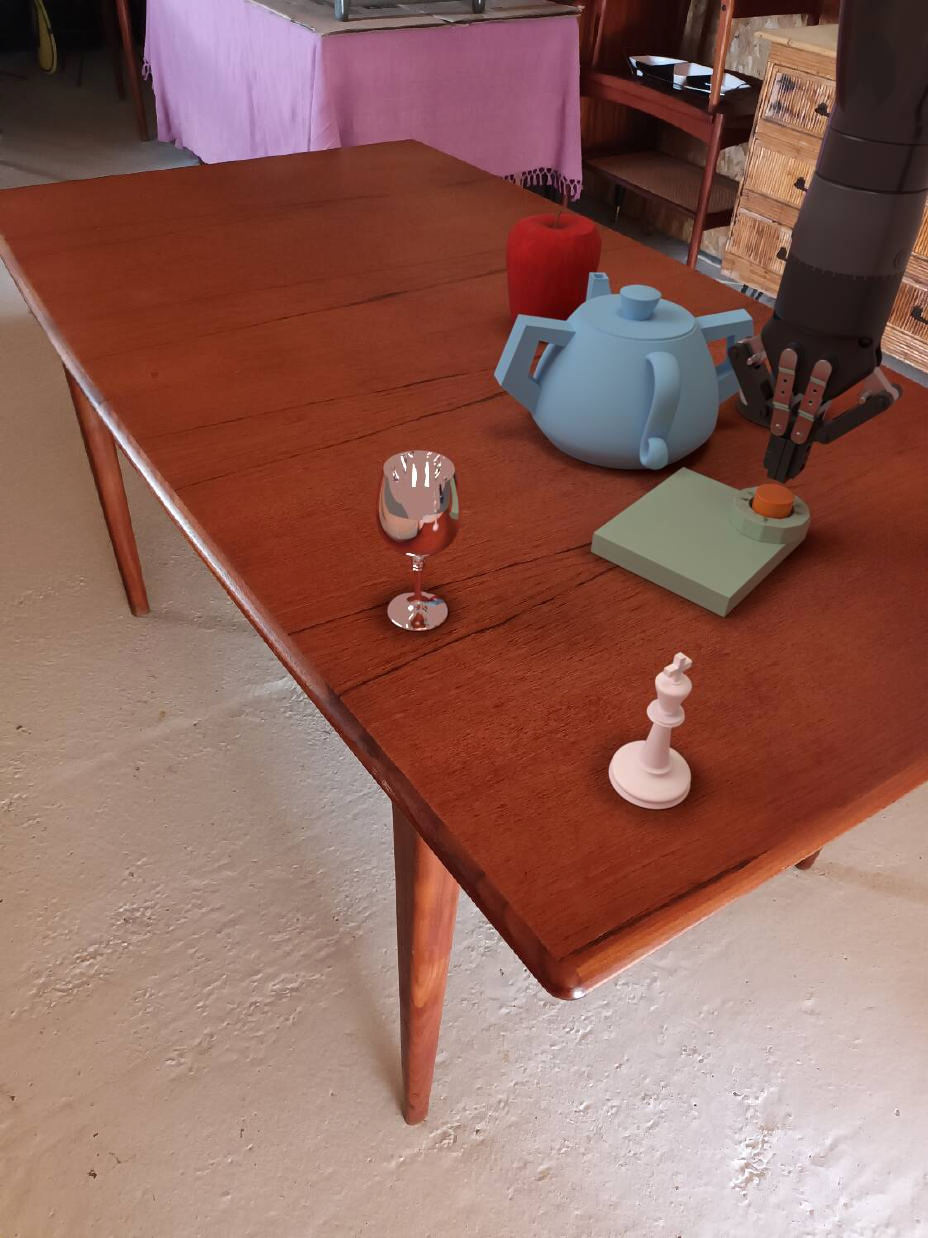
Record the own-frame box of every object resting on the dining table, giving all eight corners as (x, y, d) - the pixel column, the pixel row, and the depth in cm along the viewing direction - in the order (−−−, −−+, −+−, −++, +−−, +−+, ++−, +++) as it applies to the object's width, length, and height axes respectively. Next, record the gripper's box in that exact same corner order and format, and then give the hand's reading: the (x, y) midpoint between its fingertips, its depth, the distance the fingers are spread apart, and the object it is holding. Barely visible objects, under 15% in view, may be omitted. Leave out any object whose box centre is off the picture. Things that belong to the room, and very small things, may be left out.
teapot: (747, 428, 91) (783, 288, 82) (652, 509, 79) (682, 356, 70) (582, 371, 100) (599, 239, 91) (475, 436, 88) (481, 292, 79)
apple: (561, 308, 113) (574, 190, 104) (607, 340, 106) (625, 217, 97) (485, 320, 109) (492, 199, 100) (527, 355, 102) (539, 227, 93)
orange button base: (809, 541, 76) (822, 505, 74) (729, 620, 68) (740, 582, 66) (679, 485, 82) (686, 450, 80) (590, 551, 74) (596, 515, 72)
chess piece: (707, 787, 56) (746, 665, 49) (647, 822, 53) (680, 700, 47) (650, 736, 59) (681, 615, 52) (591, 767, 56) (615, 646, 50)
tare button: (796, 509, 74) (801, 493, 73) (779, 524, 72) (784, 508, 71) (761, 495, 75) (766, 479, 74) (745, 510, 74) (749, 493, 73)
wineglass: (420, 577, 70) (421, 437, 63) (473, 613, 67) (482, 470, 60) (361, 609, 67) (356, 465, 59) (414, 648, 64) (416, 502, 56)
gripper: (969, 263, 60) (880, 490, 71) (782, 215, 66) (727, 430, 77) (929, 293, 55) (841, 530, 67) (732, 238, 62) (681, 463, 73)
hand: (779, 476), depth 72 cm, fingers closed
